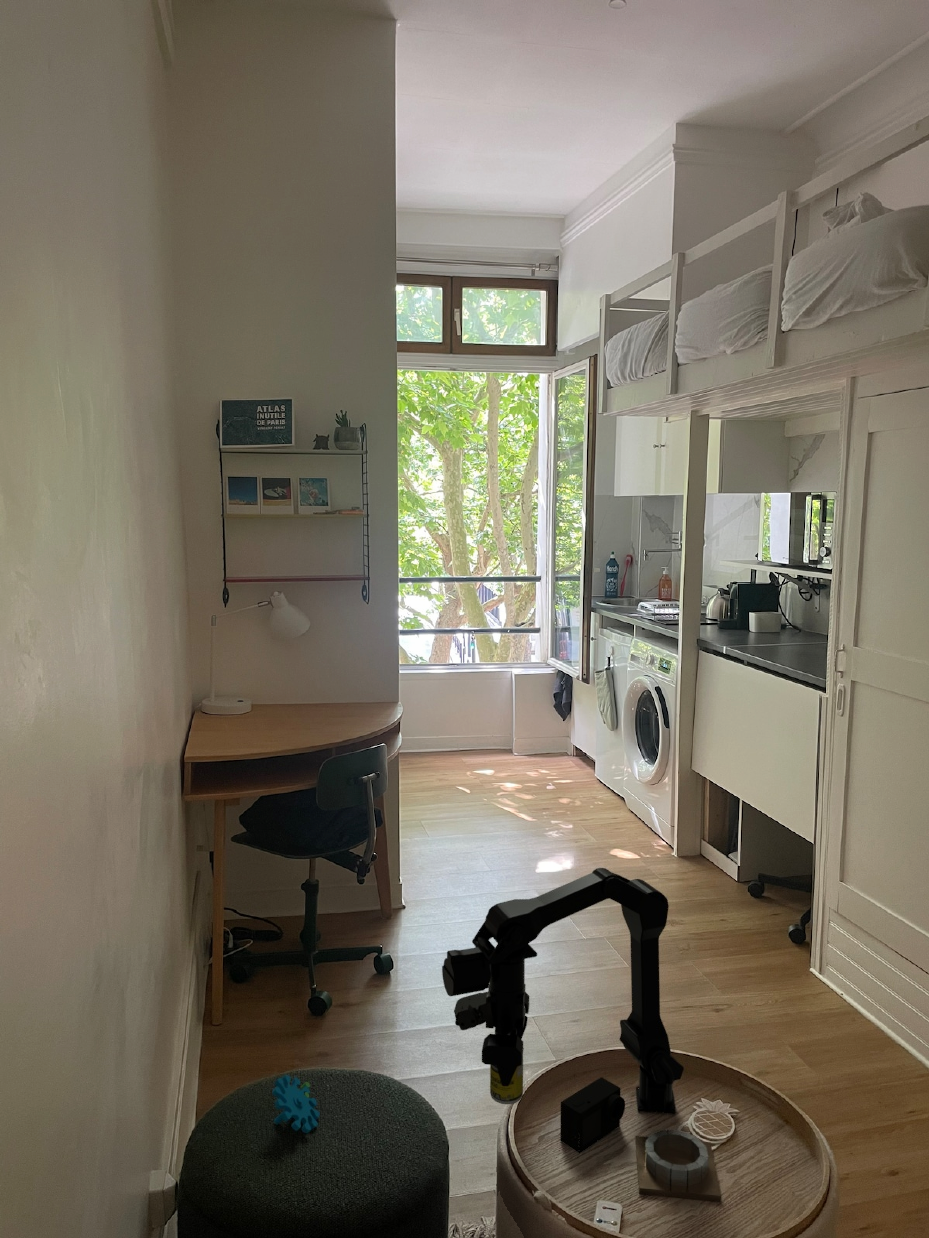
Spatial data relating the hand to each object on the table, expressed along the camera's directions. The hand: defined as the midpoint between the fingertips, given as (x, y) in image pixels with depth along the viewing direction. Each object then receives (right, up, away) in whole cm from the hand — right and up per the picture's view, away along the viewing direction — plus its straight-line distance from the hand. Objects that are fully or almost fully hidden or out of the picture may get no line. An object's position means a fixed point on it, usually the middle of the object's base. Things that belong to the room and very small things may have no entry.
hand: (506, 1074), depth 148 cm
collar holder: (+26, -12, -7) cm, 29 cm away
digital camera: (+14, -11, +2) cm, 18 cm away
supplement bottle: (0, -4, 0) cm, 4 cm away
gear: (-35, -11, +5) cm, 37 cm away
